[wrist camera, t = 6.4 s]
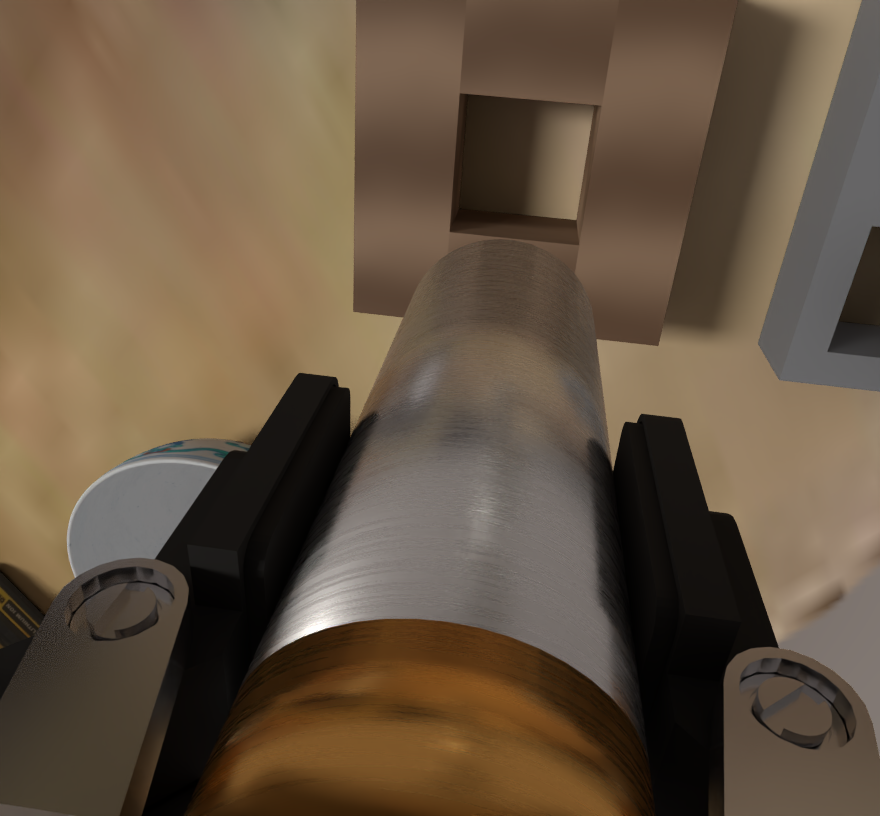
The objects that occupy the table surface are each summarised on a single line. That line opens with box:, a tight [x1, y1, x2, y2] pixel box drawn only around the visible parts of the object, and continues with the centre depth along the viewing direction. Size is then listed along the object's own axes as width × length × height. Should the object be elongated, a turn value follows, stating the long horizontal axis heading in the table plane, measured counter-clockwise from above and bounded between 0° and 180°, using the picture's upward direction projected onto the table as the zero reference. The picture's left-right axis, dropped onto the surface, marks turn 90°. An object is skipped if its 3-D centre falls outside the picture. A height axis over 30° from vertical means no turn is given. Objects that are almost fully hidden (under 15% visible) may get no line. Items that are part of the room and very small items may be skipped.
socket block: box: [353, 0, 738, 346], centre depth 33 cm, size 14×14×4 cm
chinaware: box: [67, 439, 251, 578], centre depth 43 cm, size 15×15×8 cm
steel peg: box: [184, 239, 656, 816], centre depth 11 cm, size 4×4×12 cm
